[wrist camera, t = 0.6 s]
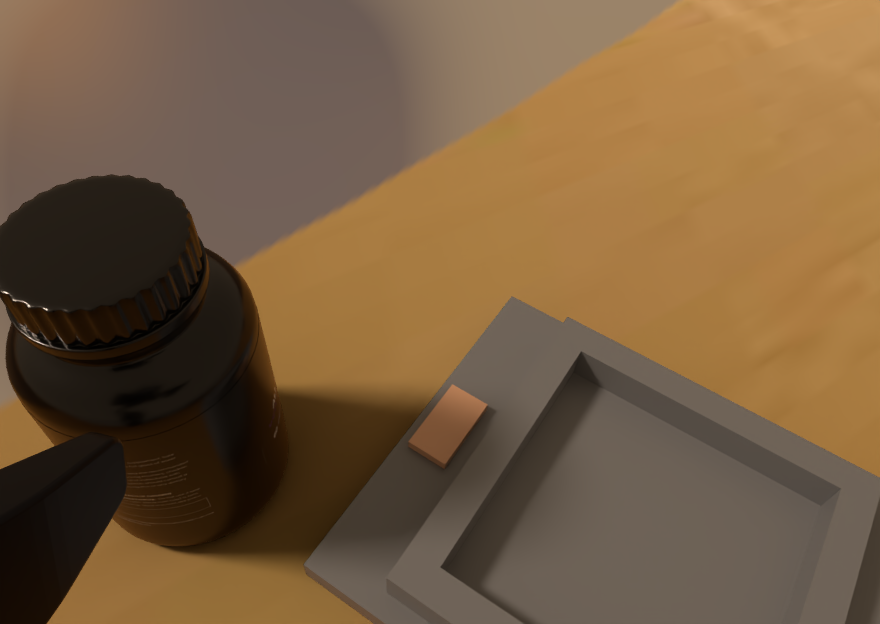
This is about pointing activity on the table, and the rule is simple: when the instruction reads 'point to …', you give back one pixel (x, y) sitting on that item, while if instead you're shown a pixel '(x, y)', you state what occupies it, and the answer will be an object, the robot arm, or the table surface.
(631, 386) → the grey recessed tray
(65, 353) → the supplement bottle
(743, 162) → the table surface
